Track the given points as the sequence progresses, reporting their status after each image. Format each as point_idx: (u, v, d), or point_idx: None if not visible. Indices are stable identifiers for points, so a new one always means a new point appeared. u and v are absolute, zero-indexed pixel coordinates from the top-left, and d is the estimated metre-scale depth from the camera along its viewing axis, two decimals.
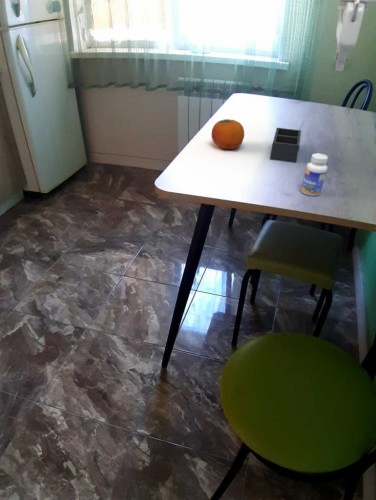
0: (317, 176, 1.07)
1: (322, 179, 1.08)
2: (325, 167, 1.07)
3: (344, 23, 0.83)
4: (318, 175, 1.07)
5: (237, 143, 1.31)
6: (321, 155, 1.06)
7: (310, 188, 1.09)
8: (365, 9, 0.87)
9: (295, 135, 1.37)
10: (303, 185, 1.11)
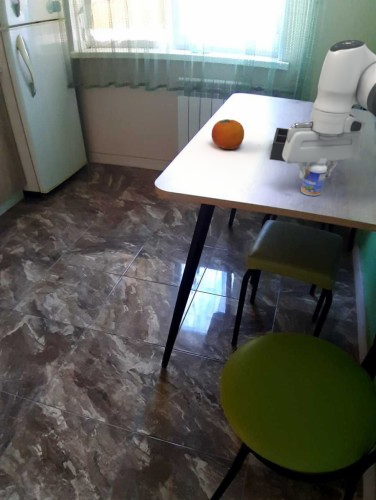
0: (317, 176, 1.07)
1: (322, 179, 1.08)
2: (325, 167, 1.07)
3: (285, 142, 1.03)
4: (318, 175, 1.07)
5: (237, 143, 1.31)
6: None
7: (310, 188, 1.09)
8: (323, 138, 1.00)
9: None
10: (302, 185, 1.11)
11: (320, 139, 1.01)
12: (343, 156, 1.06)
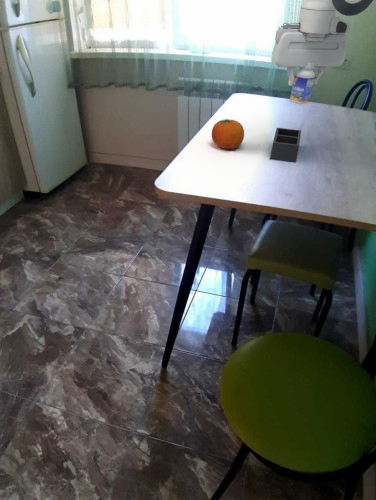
0: (305, 82, 1.12)
1: (310, 85, 1.13)
2: (312, 72, 1.11)
3: (274, 45, 1.07)
4: (306, 80, 1.11)
5: (237, 143, 1.31)
6: None
7: (299, 95, 1.14)
8: (310, 39, 1.05)
9: (295, 135, 1.37)
10: (291, 93, 1.15)
11: (307, 41, 1.06)
12: (330, 61, 1.10)
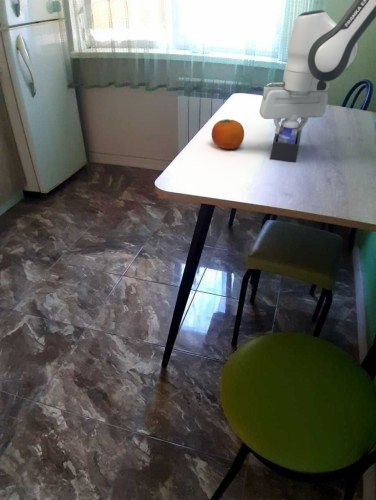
0: (290, 131, 1.24)
1: (294, 134, 1.25)
2: (297, 123, 1.24)
3: (262, 100, 1.20)
4: (291, 130, 1.24)
5: (237, 143, 1.31)
6: None
7: (284, 142, 1.26)
8: (293, 95, 1.17)
9: None
10: (278, 140, 1.28)
11: (291, 97, 1.18)
12: (312, 113, 1.23)
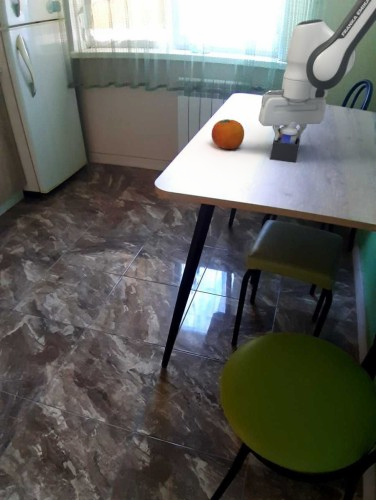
0: (289, 138, 1.25)
1: (293, 140, 1.26)
2: (295, 130, 1.25)
3: (261, 107, 1.21)
4: (289, 136, 1.25)
5: (237, 143, 1.31)
6: None
7: None
8: (292, 103, 1.19)
9: None
10: None
11: (290, 104, 1.20)
12: (311, 120, 1.24)
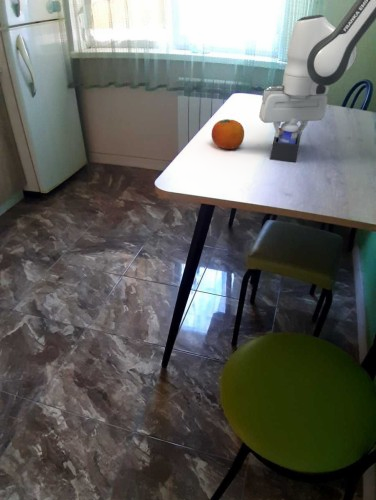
0: (290, 135, 1.25)
1: (294, 137, 1.26)
2: (296, 126, 1.24)
3: None
4: (290, 133, 1.25)
5: (237, 143, 1.31)
6: None
7: None
8: (293, 99, 1.18)
9: None
10: None
11: (291, 101, 1.19)
12: (311, 117, 1.24)
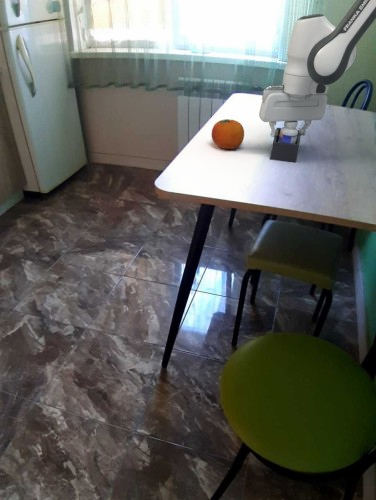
0: (289, 139, 1.26)
1: (293, 141, 1.27)
2: (296, 130, 1.25)
3: None
4: (290, 137, 1.25)
5: (237, 143, 1.31)
6: None
7: None
8: (293, 99, 1.18)
9: None
10: None
11: (290, 100, 1.19)
12: (311, 116, 1.24)
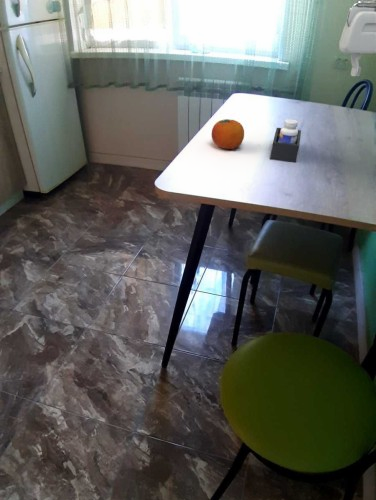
0: (289, 139, 1.26)
1: (294, 141, 1.27)
2: (296, 131, 1.25)
3: (344, 27, 0.91)
4: (290, 137, 1.25)
5: (237, 143, 1.31)
6: (292, 120, 1.25)
7: None
8: None
9: None
10: None
11: None
12: None
